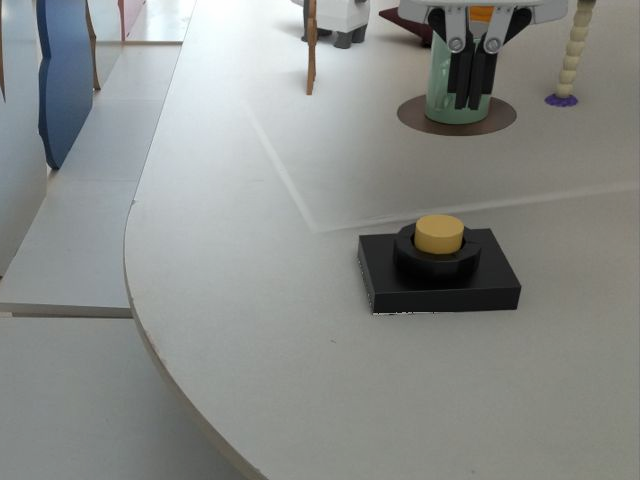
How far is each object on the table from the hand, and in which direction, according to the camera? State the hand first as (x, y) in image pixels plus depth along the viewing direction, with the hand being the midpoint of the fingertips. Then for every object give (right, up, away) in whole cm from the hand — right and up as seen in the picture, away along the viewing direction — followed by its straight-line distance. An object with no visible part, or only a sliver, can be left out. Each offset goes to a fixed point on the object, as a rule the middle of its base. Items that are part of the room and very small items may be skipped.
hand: (468, 102), depth 57 cm
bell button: (0, -9, +6) cm, 11 cm away
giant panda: (+2, +28, +60) cm, 67 cm away
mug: (+10, +8, +31) cm, 33 cm away
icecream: (+15, +25, +54) cm, 62 cm away
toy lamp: (+23, +9, +32) cm, 41 cm away
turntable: (+11, +8, +33) cm, 35 cm away
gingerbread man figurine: (-3, +15, +44) cm, 46 cm away
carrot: (+19, +19, +45) cm, 52 cm away
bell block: (0, -12, +8) cm, 15 cm away
